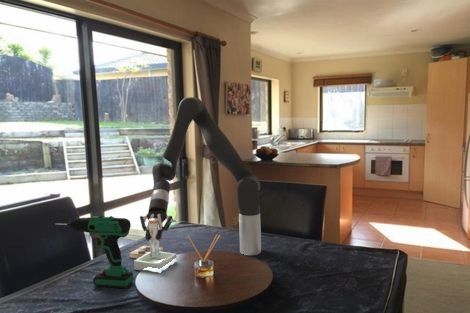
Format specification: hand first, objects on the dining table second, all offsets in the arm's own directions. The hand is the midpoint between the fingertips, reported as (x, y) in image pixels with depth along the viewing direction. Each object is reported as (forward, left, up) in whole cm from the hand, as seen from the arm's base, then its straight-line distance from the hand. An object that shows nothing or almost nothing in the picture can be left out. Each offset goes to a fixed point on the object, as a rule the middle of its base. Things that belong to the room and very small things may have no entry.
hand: (153, 239), depth 145 cm
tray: (-2, -1, -11) cm, 12 cm away
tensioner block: (-11, -12, -11) cm, 20 cm away
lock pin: (-2, -1, -7) cm, 8 cm away
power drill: (+19, -13, -12) cm, 26 cm away
